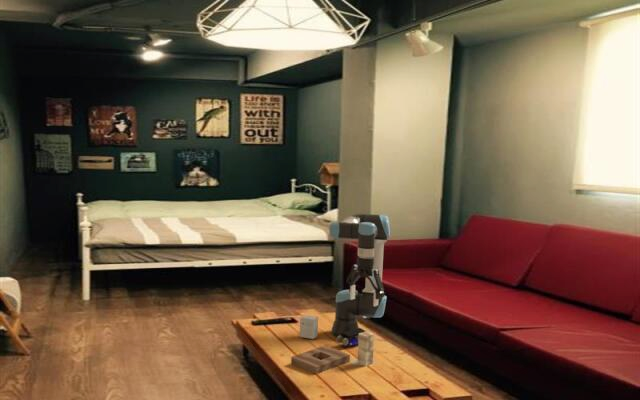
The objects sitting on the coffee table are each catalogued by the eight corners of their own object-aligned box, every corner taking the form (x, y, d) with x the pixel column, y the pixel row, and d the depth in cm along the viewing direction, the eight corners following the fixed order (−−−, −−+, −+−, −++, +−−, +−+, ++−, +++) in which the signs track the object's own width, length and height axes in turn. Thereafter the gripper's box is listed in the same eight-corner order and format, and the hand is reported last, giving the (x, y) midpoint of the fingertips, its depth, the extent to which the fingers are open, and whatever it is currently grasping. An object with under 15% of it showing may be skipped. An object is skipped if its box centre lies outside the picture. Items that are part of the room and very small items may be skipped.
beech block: (364, 360, 269) (365, 331, 268) (372, 363, 266) (374, 334, 264) (357, 363, 266) (358, 333, 264) (365, 366, 262) (367, 336, 261)
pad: (363, 358, 273) (363, 357, 273) (380, 365, 266) (380, 363, 266) (349, 364, 266) (349, 363, 266) (366, 370, 259) (366, 369, 259)
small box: (317, 336, 302) (318, 316, 301) (313, 339, 297) (314, 319, 296) (303, 333, 305) (304, 314, 304) (299, 337, 300) (300, 317, 299)
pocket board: (324, 353, 278) (324, 345, 278) (349, 363, 267) (349, 354, 267) (291, 365, 262) (291, 356, 262) (316, 376, 251) (316, 367, 251)
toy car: (344, 352, 283) (368, 344, 292) (343, 338, 282) (367, 329, 290) (336, 348, 289) (359, 340, 297) (335, 334, 288) (358, 326, 296)
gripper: (339, 253, 267) (338, 298, 270) (382, 262, 250) (380, 310, 253) (349, 251, 273) (348, 295, 275) (393, 260, 256) (391, 306, 258)
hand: (363, 302), depth 264 cm, fingers open, 13 cm apart
